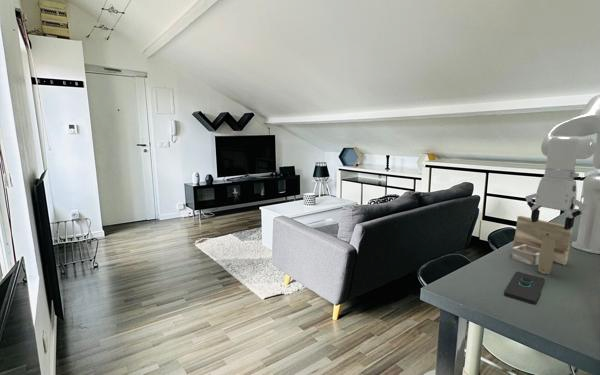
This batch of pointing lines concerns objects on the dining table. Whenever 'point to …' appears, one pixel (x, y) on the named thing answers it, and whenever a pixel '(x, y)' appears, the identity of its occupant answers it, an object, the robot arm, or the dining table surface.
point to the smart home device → (525, 287)
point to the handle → (547, 249)
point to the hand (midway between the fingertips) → (550, 225)
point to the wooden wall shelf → (538, 241)
